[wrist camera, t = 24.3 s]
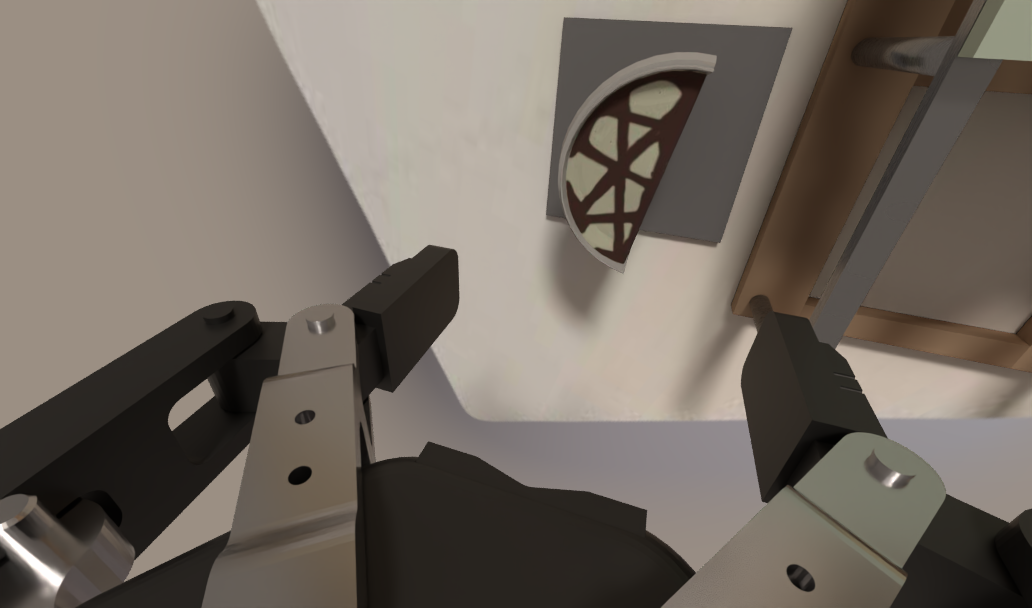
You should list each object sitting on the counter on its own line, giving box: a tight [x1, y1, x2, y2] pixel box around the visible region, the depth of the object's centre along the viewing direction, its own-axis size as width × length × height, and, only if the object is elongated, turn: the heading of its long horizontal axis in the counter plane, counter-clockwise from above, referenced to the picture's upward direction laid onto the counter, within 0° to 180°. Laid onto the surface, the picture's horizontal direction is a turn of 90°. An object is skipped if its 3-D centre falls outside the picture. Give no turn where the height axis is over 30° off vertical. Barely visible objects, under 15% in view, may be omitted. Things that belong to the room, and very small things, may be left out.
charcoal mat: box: [546, 17, 792, 243], centre depth 31 cm, size 14×14×1 cm
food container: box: [558, 52, 717, 273], centre depth 27 cm, size 12×6×10 cm, turn 166°
